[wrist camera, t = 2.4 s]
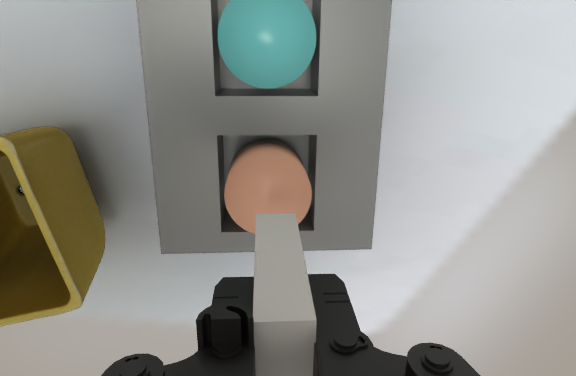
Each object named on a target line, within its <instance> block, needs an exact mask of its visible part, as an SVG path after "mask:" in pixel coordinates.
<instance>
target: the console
mask: <svg viewBox="0 0 576 376" xmlns="http://www.w3.org/2000/svg"><path fill="white" fill-rule="evenodd" d="M302 1H303V2H304V3H305V4H306V6H307V7H308V9H309V11H310V12H311V15H312V17H313V20H314V23H315V28H316V47H315V51H314V54H313V57H312V60H311V62H310V64H309V65H308V67H307V68H306V70H305V71H304V72H303V73H302V74H301V75H300V76H299V77H298V78H297V79H295V80H294V81H293V82H291V83H289V84H287V85H284V86H282V87H278V88H270V89H265V88H258V87H254V86H251V85H248V84H246V83H244V82H243V81H241V80H240V79H238V78H237V77H236V76H235V75H234V74H233V73H232V72H231V71H230V70H229V68H228V67H227V66H226V64H225V62H224V60H223V58H222V56H221V53H220V50H219V46H218V25H219V21H220V18H221V15H222V13H223V11H224V9H225V7H226V6H227V4H228V3H229V2H230V0H136V2H137V12H138V22H139V33H140V43H141V53H142V63H143V73H144V83H145V93H146V103H147V114H148V124H149V134H150V144H151V154H152V164H153V174H154V184H155V194H156V205H157V215H158V225H159V235H160V245H161V254H177V253H222V252H255V234H253V233H251V232H248V231H246V230H245V229H243V228H241V227H240V226H239V225H238V224H237V223H236V222H235V221H234V220H233V219H232V218H231V216H230V214H229V213H228V210H227V208H226V204H225V198H224V191H225V185H226V181H227V177H228V172H229V168H230V164H231V162H232V160H233V158H234V156H235V155H236V154H237V152H238V151H239V150H240V149H242V148H243V147H244V146H246V145H247V144H249V143H251V142H254V141H257V140H262V139H272V140H277V141H280V142H283V143H285V144H287V145H288V146H290V147H291V148H292V149H294V150H295V151H296V152H297V154H298V155H299V156H300V158H301V160H302V162H303V165H304V167H305V170H306V173H307V176H308V179H309V182H310V185H311V190H312V198H311V204H310V207H309V210H308V212H307V214H306V216H305V217H304V218H303V220H302V221H301V222H300V223H299V224H298V228H299V233H300V238H301V244H302V249H303V251H311V250H356V249H372V237H373V224H374V212H375V200H376V188H377V176H378V163H379V151H380V139H381V127H382V115H383V102H384V90H385V78H386V66H387V54H388V41H389V29H390V17H391V5H392V0H302Z"/></svg>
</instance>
